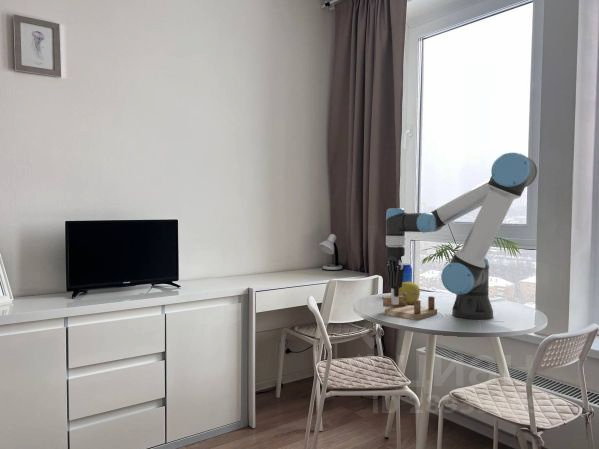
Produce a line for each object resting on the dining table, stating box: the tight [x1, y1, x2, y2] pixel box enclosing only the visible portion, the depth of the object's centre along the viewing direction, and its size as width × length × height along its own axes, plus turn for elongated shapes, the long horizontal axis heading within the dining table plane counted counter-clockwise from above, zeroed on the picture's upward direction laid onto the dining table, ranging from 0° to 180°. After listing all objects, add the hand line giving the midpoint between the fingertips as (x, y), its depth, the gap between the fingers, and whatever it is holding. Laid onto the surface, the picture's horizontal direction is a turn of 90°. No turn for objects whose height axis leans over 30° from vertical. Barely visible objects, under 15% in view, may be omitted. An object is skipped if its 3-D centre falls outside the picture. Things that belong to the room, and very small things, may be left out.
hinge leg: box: [382, 293, 407, 308], centre depth 191 cm, size 11×2×5 cm, turn 115°
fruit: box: [399, 281, 421, 305], centre depth 209 cm, size 10×11×10 cm
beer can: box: [402, 262, 413, 283], centre depth 229 cm, size 8×8×16 cm
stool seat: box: [384, 295, 438, 321], centre depth 185 cm, size 15×15×7 cm
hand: (394, 304), depth 188 cm, fingers closed
